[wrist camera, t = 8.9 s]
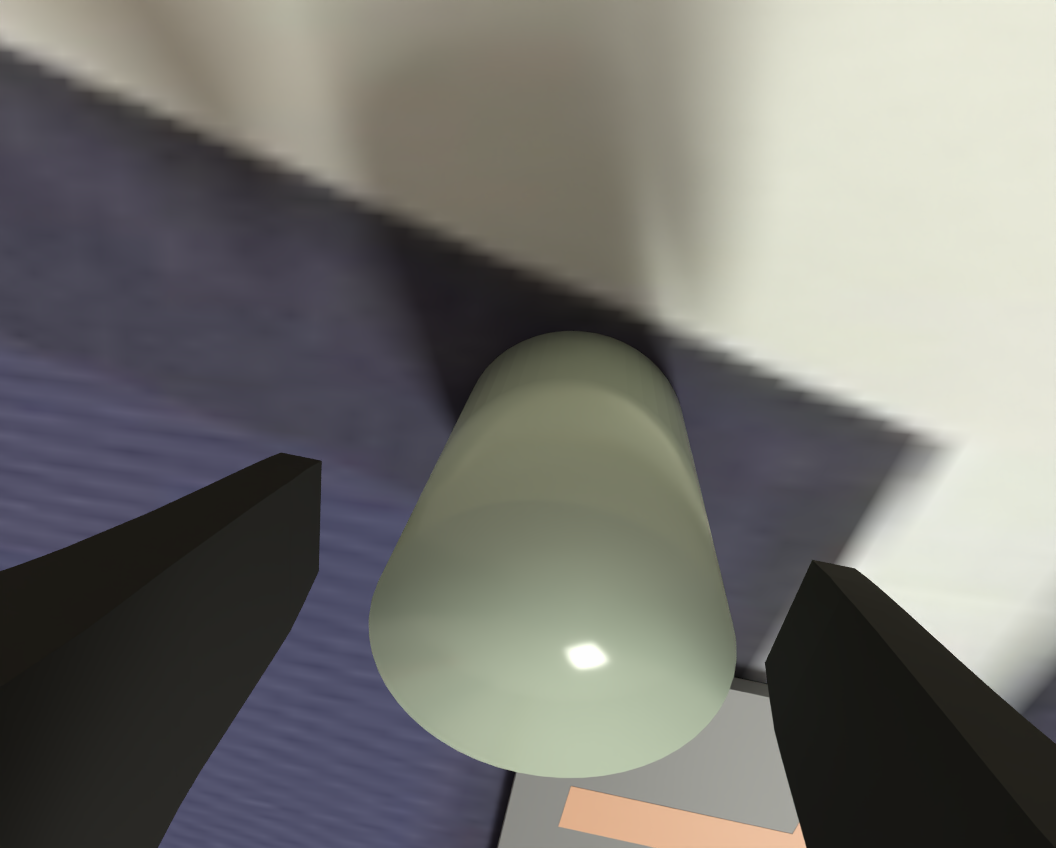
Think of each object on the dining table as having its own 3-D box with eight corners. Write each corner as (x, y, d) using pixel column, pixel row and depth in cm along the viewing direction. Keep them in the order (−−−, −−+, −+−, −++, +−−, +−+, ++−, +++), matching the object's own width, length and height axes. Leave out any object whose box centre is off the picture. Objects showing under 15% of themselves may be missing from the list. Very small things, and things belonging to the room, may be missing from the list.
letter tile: (1000, 733, 15) (1010, 748, 15) (828, 966, 20) (832, 982, 20) (547, 638, 16) (546, 651, 15) (486, 890, 21) (484, 904, 20)
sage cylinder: (712, 355, 12) (791, 547, 7) (652, 545, 14) (678, 807, 9) (479, 310, 12) (379, 462, 7) (452, 504, 14) (360, 738, 9)
